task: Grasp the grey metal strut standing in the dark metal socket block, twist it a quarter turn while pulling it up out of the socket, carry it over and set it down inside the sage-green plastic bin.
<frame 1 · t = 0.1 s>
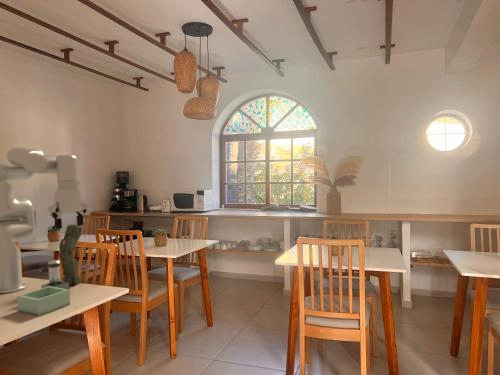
hand: (69, 226, 145), 31 cm above the table, tool pointing down, fingers open, 9 cm apart
bin: (44, 307, 140), on the table
mechanical leg: (72, 284, 172), on the table
strut: (55, 288, 156), point 3 cm above the table, touching socket block
socket block: (55, 295, 156), on the table
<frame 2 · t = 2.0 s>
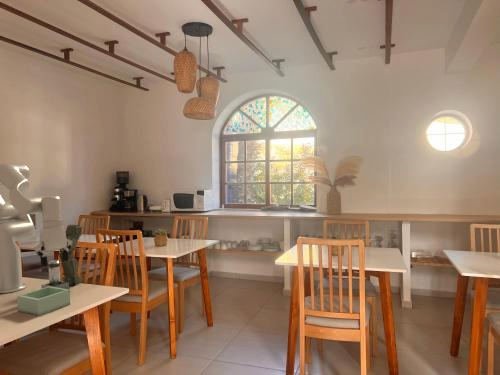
hand: (55, 263, 155), 14 cm above the table, tool pointing down, fingers open, 9 cm apart
nothing on the table moved.
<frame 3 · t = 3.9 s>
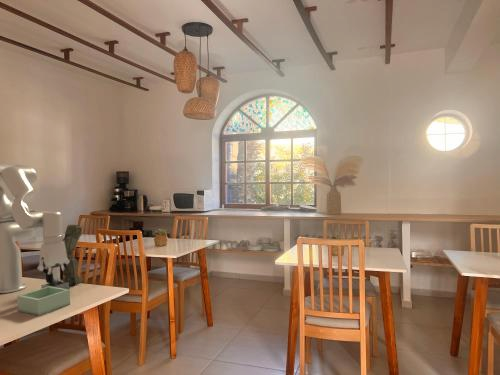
hand: (54, 280, 156), 6 cm above the table, tool pointing down, fingers closed on strut, 4 cm apart
strut: (55, 288, 156), point 3 cm above the table, touching gripper, socket block
everything else where it was.
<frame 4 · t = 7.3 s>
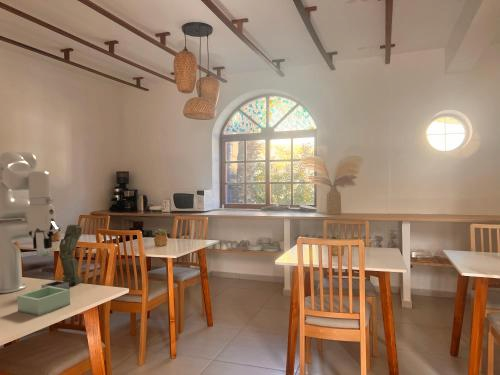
hand: (42, 247, 140), 24 cm above the table, tool pointing down, fingers closed on strut, 4 cm apart
strut: (43, 255, 140), point 20 cm above the table, touching gripper
everything else where it was.
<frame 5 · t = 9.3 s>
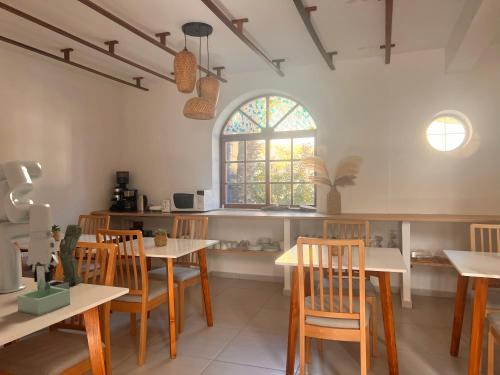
hand: (43, 280, 140), 11 cm above the table, tool pointing down, fingers closed on strut, 4 cm apart
strut: (44, 289, 140), point 7 cm above the table, touching gripper
everything else where it was.
when the fingers open (6 cm above the table, at t = 10.8 s): strut drops 2 cm, resting on bin.
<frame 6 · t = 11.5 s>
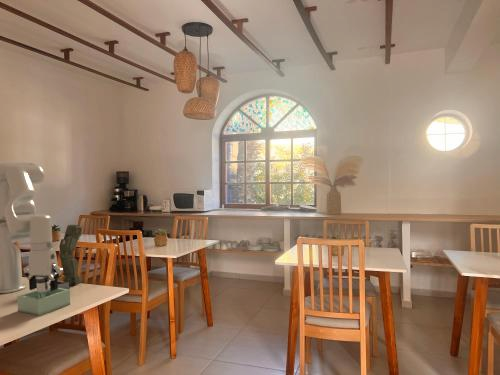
hand: (43, 289, 140), 7 cm above the table, tool pointing down, fingers open, 9 cm apart
strut: (44, 305, 140), point 1 cm above the table, touching bin
everything else where it was.
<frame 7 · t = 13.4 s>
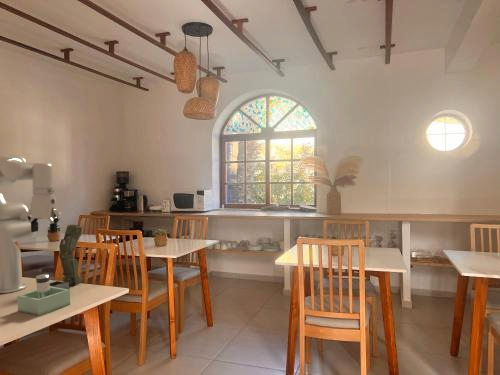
hand: (44, 232, 151), 29 cm above the table, tool pointing down, fingers open, 9 cm apart
nothing on the table moved.
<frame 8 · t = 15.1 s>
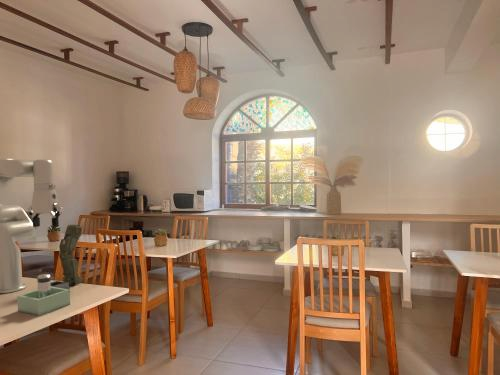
hand: (45, 226, 156), 30 cm above the table, tool pointing down, fingers open, 9 cm apart
nothing on the table moved.
at the end: strut inside the target area on the bin (0.1 cm from its centre), point 0.9 cm above the bin's base; the gripper is holding nothing; strut moved 16.3 cm from its start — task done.
